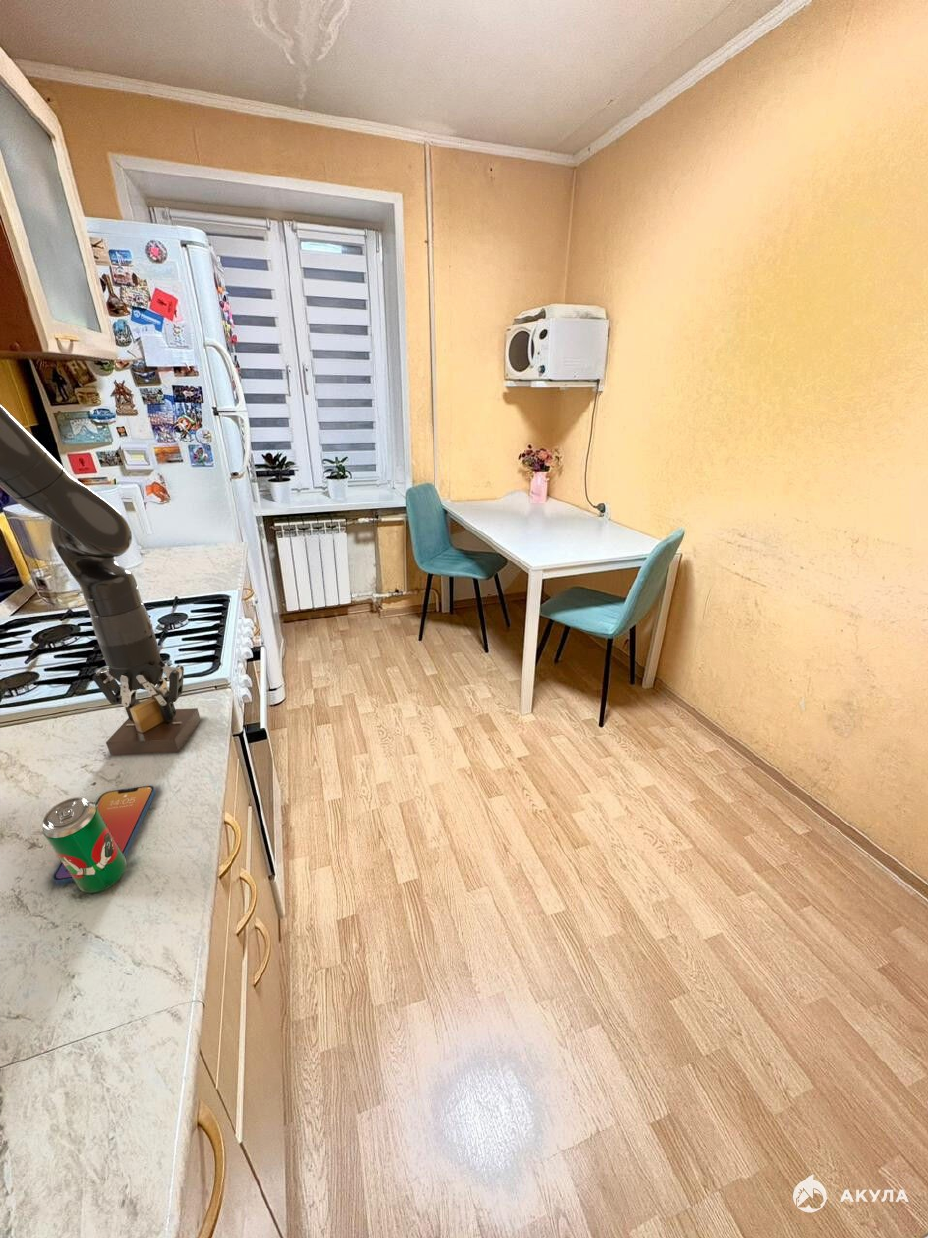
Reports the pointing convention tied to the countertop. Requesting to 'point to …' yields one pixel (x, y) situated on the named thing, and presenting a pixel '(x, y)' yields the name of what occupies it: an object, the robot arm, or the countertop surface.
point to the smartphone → (118, 819)
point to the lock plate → (155, 735)
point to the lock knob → (146, 714)
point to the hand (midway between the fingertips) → (154, 720)
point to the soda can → (84, 844)
